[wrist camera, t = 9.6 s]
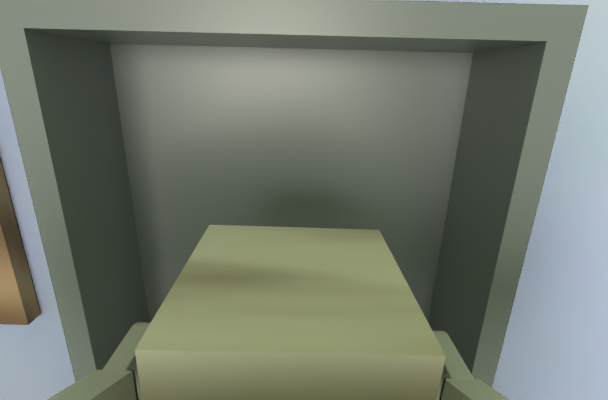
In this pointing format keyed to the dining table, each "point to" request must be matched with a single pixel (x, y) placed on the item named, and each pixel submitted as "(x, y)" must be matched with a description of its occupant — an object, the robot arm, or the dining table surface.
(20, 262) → the walnut board
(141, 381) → the cream block
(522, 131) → the bin
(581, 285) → the dining table surface
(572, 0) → the dining table surface
